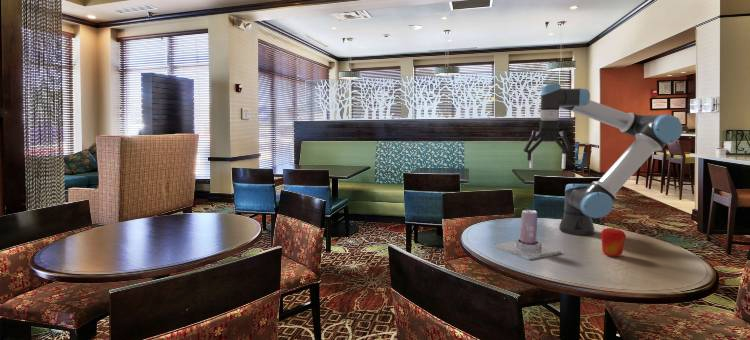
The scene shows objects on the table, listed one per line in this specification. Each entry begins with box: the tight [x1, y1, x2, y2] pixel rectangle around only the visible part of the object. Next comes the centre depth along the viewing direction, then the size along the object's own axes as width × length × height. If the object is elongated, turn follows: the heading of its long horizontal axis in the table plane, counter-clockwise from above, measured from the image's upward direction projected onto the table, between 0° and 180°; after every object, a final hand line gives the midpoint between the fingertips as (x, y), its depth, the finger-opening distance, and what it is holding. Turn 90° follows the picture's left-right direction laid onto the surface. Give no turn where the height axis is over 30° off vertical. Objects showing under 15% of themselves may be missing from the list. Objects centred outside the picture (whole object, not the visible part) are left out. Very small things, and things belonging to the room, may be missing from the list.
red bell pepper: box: [600, 226, 627, 258], centre depth 161 cm, size 9×8×12 cm
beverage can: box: [520, 209, 538, 244], centre depth 167 cm, size 6×6×15 cm
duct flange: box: [494, 237, 563, 261], centre depth 168 cm, size 18×18×4 cm
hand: (547, 168), depth 182 cm, fingers open, 13 cm apart
